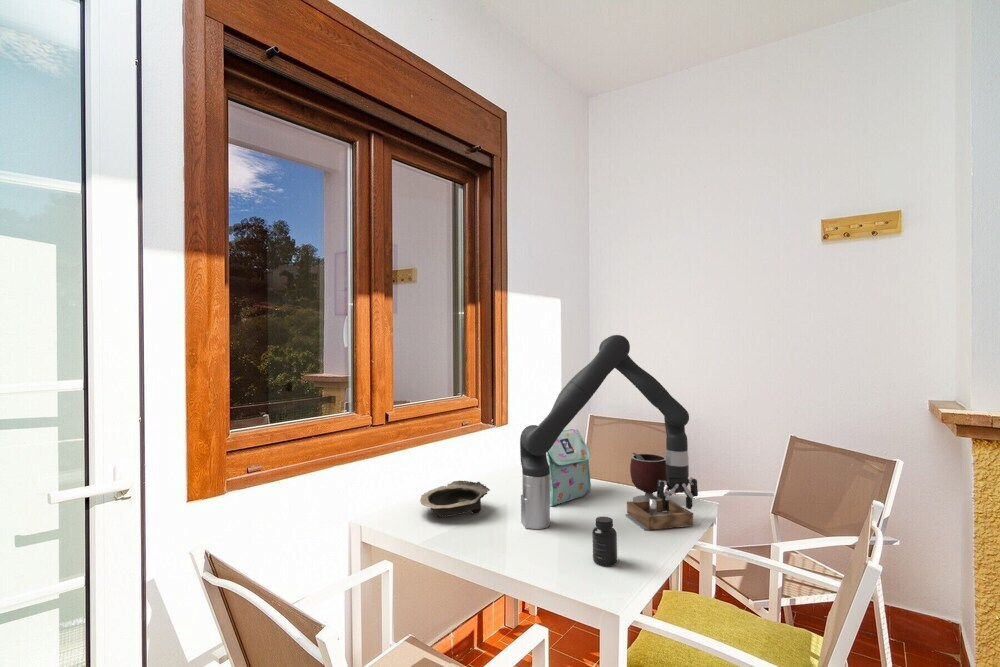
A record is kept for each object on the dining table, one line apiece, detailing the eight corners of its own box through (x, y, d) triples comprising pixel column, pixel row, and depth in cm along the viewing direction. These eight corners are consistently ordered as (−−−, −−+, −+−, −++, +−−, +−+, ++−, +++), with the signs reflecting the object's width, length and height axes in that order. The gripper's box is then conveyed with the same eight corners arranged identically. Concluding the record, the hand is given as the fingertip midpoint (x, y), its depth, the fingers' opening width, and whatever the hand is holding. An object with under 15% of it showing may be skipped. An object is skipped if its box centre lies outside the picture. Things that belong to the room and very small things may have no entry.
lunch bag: (554, 509, 189) (553, 436, 189) (524, 498, 201) (523, 430, 202) (594, 496, 203) (594, 429, 203) (564, 487, 216) (564, 423, 216)
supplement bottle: (599, 554, 149) (599, 513, 149) (621, 560, 145) (621, 518, 145) (588, 562, 144) (587, 519, 144) (610, 569, 140) (609, 525, 140)
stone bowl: (499, 505, 192) (498, 481, 192) (468, 534, 170) (467, 507, 169) (443, 496, 203) (442, 474, 202) (406, 522, 180) (405, 497, 180)
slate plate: (644, 530, 167) (644, 528, 167) (625, 515, 181) (625, 514, 181) (683, 526, 170) (682, 525, 170) (661, 512, 184) (661, 511, 184)
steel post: (651, 520, 174) (651, 500, 174) (648, 518, 177) (647, 498, 177) (658, 520, 175) (658, 499, 175) (654, 517, 177) (654, 497, 177)
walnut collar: (648, 529, 167) (648, 517, 167) (627, 513, 182) (626, 501, 182) (693, 525, 170) (693, 513, 170) (667, 509, 186) (667, 498, 186)
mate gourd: (647, 494, 206) (647, 444, 206) (676, 503, 194) (675, 450, 194) (619, 501, 198) (619, 449, 198) (647, 511, 186) (647, 456, 186)
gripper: (663, 466, 173) (664, 514, 172) (701, 464, 176) (702, 511, 175) (652, 461, 180) (653, 507, 180) (689, 459, 183) (689, 504, 183)
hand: (677, 509), depth 178 cm, fingers open, 8 cm apart
